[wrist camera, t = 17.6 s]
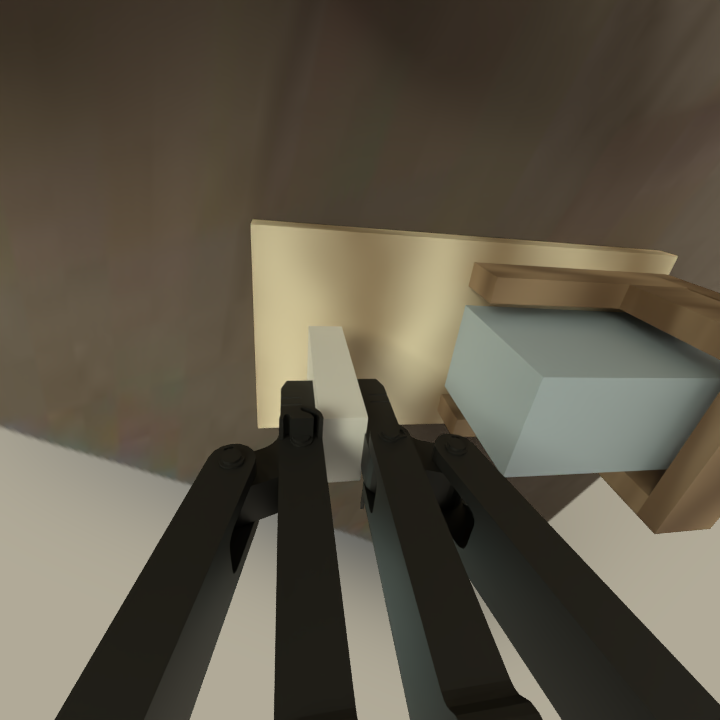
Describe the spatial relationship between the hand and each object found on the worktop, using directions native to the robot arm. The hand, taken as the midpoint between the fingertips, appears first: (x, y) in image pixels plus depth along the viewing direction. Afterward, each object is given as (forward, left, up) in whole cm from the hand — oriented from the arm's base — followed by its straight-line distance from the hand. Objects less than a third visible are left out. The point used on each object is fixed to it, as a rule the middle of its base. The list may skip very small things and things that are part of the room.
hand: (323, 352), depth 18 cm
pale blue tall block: (+12, -1, -2) cm, 12 cm away
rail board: (+8, 0, -3) cm, 8 cm away
